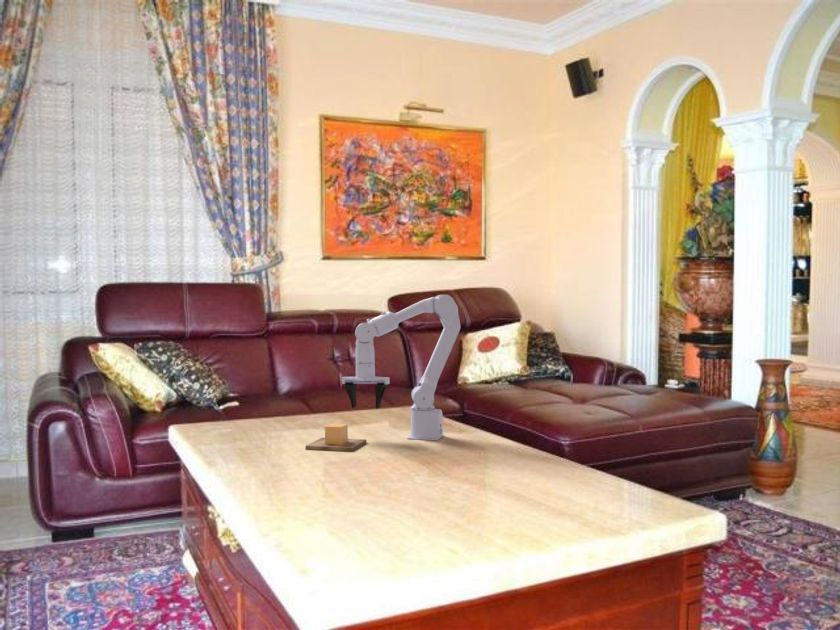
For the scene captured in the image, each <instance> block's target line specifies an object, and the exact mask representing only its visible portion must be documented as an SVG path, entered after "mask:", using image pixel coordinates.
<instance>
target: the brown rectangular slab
mask: <svg viewBox="0 0 840 630" xmlns="http://www.w3.org/2000/svg"><path fill="white" fill-rule="evenodd" d="M367 443H368V442H367V439H360V438H348V441H347V442H346V443H344V444H342V445H337V444H325V437H321V438H319V439H316V440H314V441H313V442H312V441H311V443H309V444H306V445H305V450H311V451H313V450H315V451H333V452H335V451H336V452H354V451H355V450H357V449H359V448H361V447H362V446H364V445H366V444H367Z"/></svg>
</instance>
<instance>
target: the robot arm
mask: <svg viewBox="0 0 840 630" xmlns="http://www.w3.org/2000/svg"><path fill="white" fill-rule="evenodd" d="M423 313H424V314H425V313H426V314H435V315H437V316H438V318H439V320H440V322H441V324H442V326H443V329H442V331H441V334H440V336H439V338H438V340H437V343H436V345H435V347H434V350H433V351H432V354H431V356H430V359H429V362H428V364H427V366H426V368H425V371H424V372H423V375H422V376H421V378H420V379H419V382H418V383H417V385H415V387H414V388H412V390H411V399H412V401H413V404H412V406H410V430H411V431H410V433H411V434H410V435H409V436H407V438H406V439H407V440H418V441H420V440H422V441H425V440H426V441H427V440H428V441H439V440H440V439H441V438H442V437H444V427H443V426H444V424H443V423H444V418H443V417H444V415H443V411H442V409H440V408H435V405H434V402H435V392H436V389H437V386H438V381H439V379H440V377H441V374H442V372H443V370H444V368H445V365H446V363H447V361H448V358H449V356H450V354H451V351H452V350H453V346H454V345H455V342H456V340H457V338H458V335H459V333H460V330H461V321H460V316H459V307H458V305H457V303H456V301H455V300H454V298H453V297H452V296H451V295H449V294H438V295H436V296H432V297H429V298H425V299H422V300H419V301H418V302H416V303H413V304H411V305H409V306H407V307H405V308H403V309H401V310H399V311H398V312H395V313H394V312H392V311H385V310H384V311H382V312H380V315H378V316H375V317H372V318H368V319H366V322H361V323H359V324H358V325H357V326H356V328H355V331H354V336H355V338H356V341H355V376H343V377H341V384H342V385H343V386H344V387H343V388H344V390H345V391H346V393H347V396H348V399H349V401H350V405H351V408H352V409H355V408H357V387H358V384H359V385H361V384H362V385H363V384H366V385H374V386H373V387H374V391H375V409H380V408H381V405H382V404H381V403H382V400H383V396H384V393H385V391H386V389H387V387H388V385H390V377H388V376H386V377H385V376H376V367H375V365H376V363H375V362H376V361H375V359H376V358H375V347H374V338H375V337H381V336H383V335H386V334H388V333H390V332H392V331H394V330H397V329H398V327H399V324H400V323H401V322H405V321H406V320H409V319H411V318H413V317H417V316H418V315H421V314H423ZM344 384H345V385H344Z"/></svg>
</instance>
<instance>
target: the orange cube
mask: <svg viewBox="0 0 840 630" xmlns="http://www.w3.org/2000/svg"><path fill="white" fill-rule="evenodd" d="M348 430H349V426H348V423H330V424H327V425H325V426H324V438H325V444H337V445H342V444H344V443H346V442H347V441H348V439H349V437H348V436H349V435H348V433H349V431H348Z"/></svg>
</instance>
